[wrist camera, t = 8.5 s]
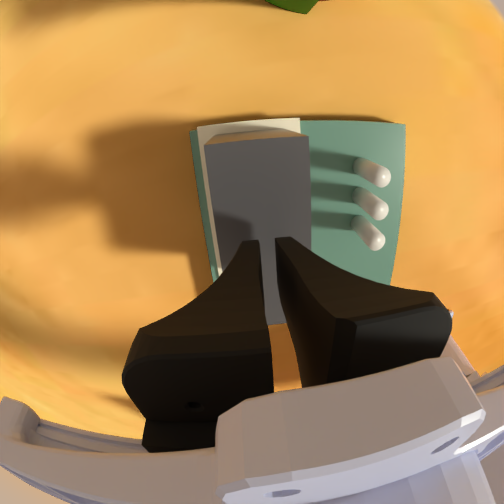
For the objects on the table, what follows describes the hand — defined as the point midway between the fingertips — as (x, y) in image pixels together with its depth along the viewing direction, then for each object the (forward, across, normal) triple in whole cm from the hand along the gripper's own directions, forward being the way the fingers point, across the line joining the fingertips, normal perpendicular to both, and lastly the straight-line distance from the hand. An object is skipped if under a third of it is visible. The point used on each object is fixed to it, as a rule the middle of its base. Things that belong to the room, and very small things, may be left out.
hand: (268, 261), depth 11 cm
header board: (+9, -4, +2) cm, 10 cm away
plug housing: (+7, 0, 0) cm, 7 cm away
